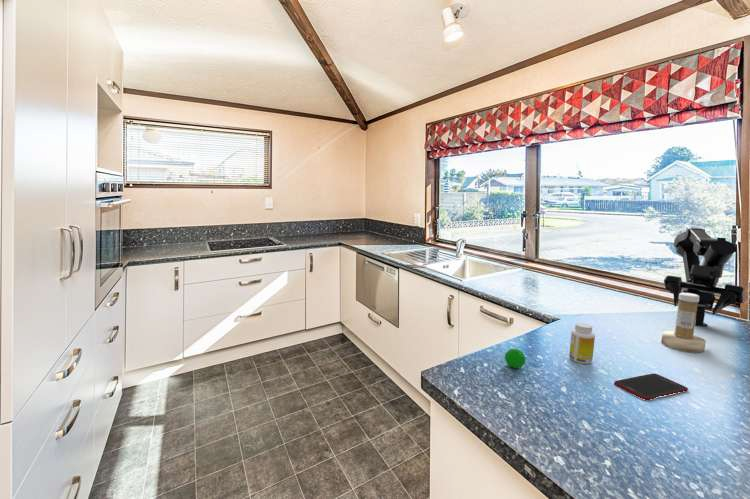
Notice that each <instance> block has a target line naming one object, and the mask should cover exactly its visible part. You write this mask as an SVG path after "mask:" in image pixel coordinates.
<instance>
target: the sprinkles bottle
mask: <svg viewBox="0 0 750 499" xmlns="http://www.w3.org/2000/svg"><path fill="white" fill-rule="evenodd" d="M698 302H699V295H696V294H692V293H680V294H679V304H678V305H677V307H678V308H677V310H676V311H677V312H676V320H675V329H674V331H675V333H674V335H676V336H677V337H680V338H685V339H693V338H694V337H693V335H695V334H694V332H695V328H696V325H695V323H696V313H697V305H698Z"/></svg>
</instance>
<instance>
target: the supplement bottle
mask: <svg viewBox="0 0 750 499" xmlns="http://www.w3.org/2000/svg"><path fill="white" fill-rule="evenodd" d="M570 333H571V334H570V344H569V354H568V356H569V359H570V360H572V361H573V362H575V363H578V364H581V365H582V364H583V365H589V364H591V363H592V362H593V357H594V348H595V340H596V335H595V333H594V332H593V326H592V325H591V324H589V323H585V322H576V323H575V327H574V328H573V329H572V330H571V332H570Z"/></svg>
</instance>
